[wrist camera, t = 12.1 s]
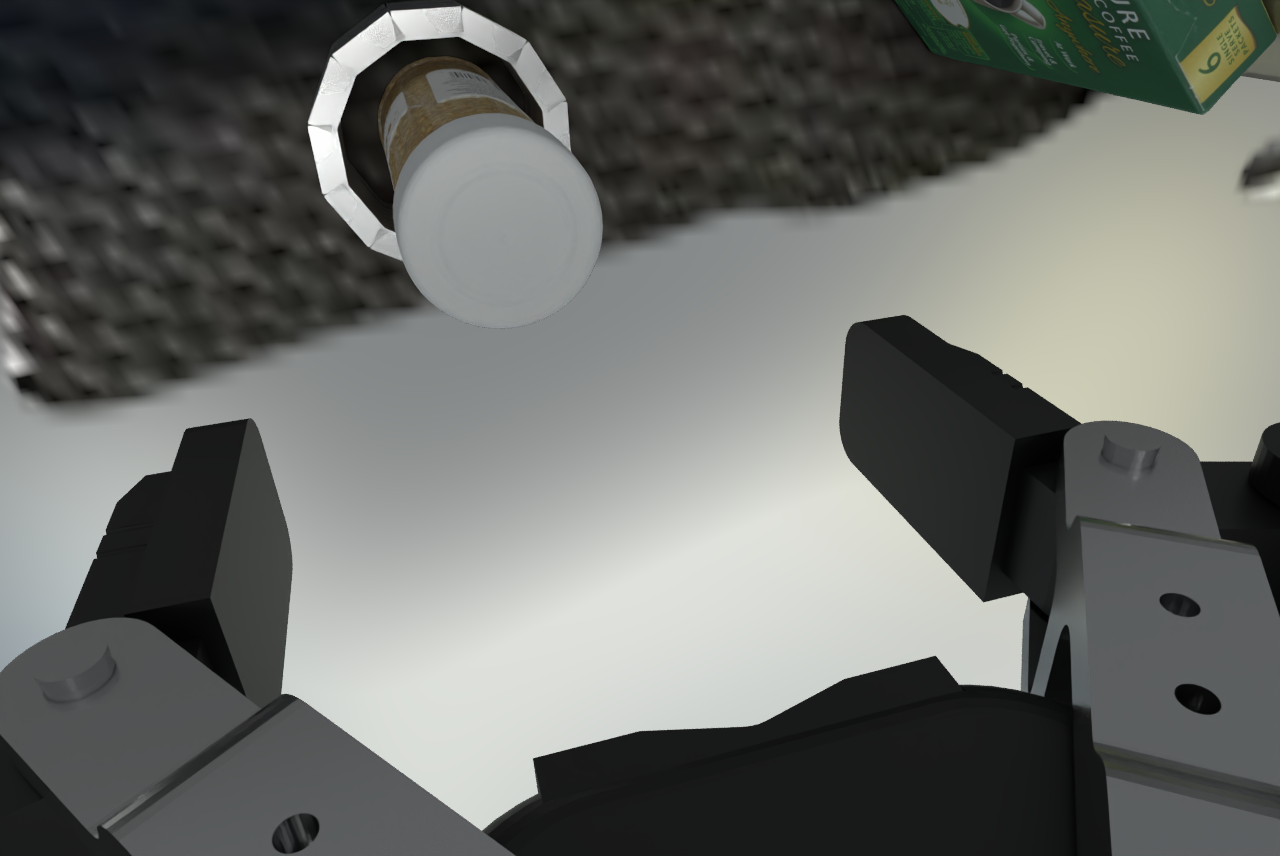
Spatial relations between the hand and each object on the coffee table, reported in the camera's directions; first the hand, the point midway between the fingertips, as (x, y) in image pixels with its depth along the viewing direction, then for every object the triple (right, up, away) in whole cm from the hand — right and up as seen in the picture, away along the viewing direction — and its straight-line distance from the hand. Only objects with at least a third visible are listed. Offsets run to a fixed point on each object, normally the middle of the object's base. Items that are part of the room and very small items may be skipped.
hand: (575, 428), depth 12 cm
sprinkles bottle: (-6, +11, +19) cm, 22 cm away
